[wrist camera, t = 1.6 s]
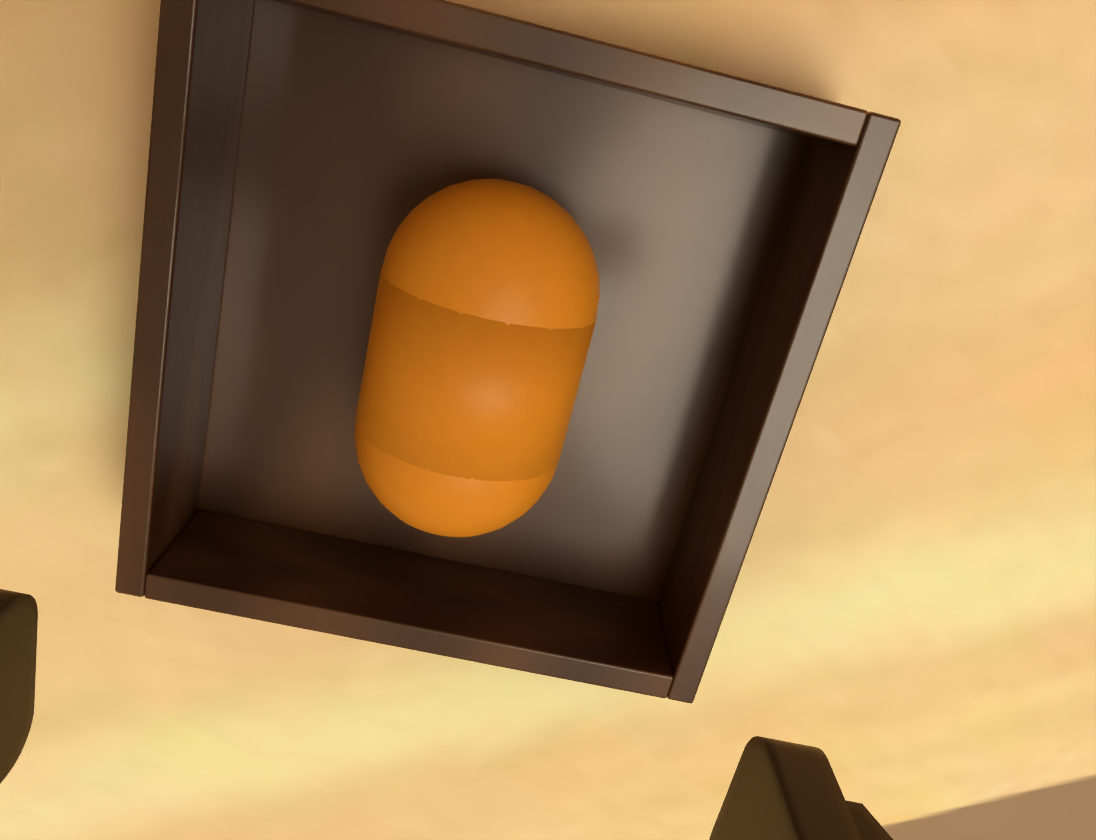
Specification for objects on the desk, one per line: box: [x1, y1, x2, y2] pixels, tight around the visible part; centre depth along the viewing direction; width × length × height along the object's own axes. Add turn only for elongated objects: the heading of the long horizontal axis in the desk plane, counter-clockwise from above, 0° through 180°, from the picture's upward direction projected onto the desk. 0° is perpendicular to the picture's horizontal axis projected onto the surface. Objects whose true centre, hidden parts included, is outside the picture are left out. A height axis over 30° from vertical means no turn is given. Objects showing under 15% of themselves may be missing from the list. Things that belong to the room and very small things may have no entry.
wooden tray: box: [115, 0, 901, 703], centre depth 24 cm, size 17×17×4 cm
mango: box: [354, 179, 600, 537], centre depth 23 cm, size 6×10×6 cm, turn 167°
